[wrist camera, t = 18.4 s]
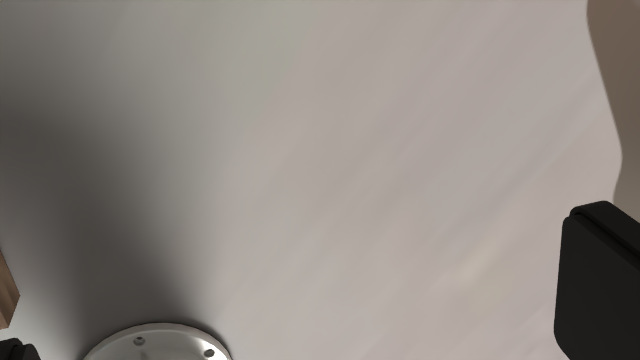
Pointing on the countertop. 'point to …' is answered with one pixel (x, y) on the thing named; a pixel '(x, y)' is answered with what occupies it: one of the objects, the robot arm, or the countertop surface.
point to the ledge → (7, 295)
